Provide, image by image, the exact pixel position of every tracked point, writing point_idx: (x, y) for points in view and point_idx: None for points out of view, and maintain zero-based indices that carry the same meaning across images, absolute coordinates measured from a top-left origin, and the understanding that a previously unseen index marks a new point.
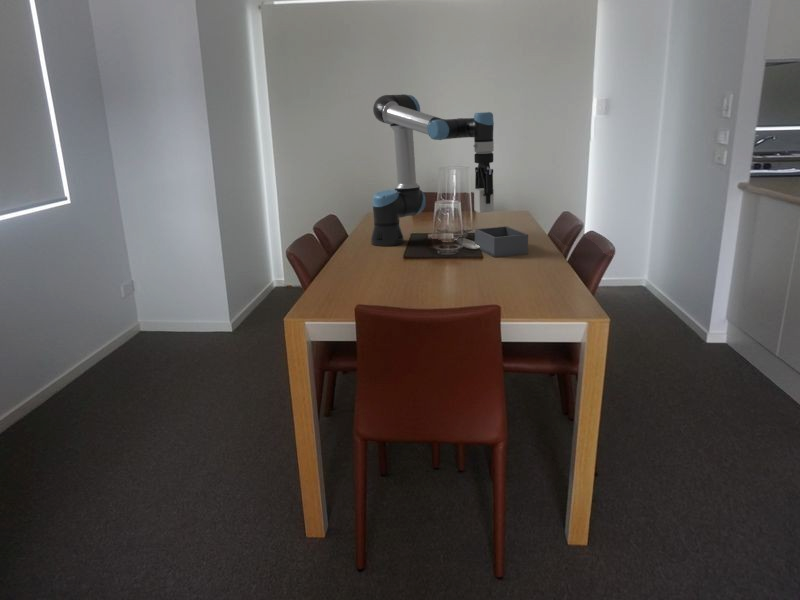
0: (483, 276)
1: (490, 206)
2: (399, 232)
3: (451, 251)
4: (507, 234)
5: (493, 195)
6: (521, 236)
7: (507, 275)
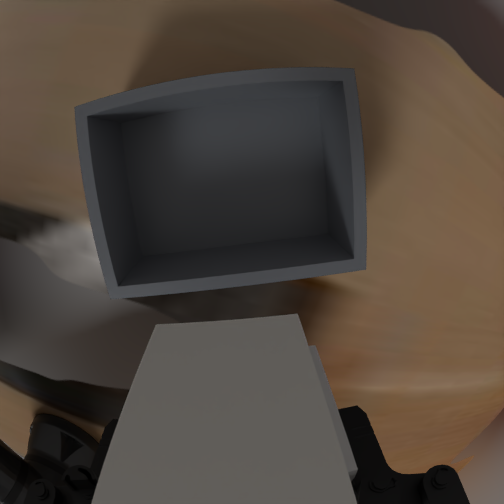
0: (475, 318)
1: (325, 376)
2: (63, 447)
3: None
4: (126, 113)
5: (337, 440)
6: (357, 109)
7: (495, 264)
